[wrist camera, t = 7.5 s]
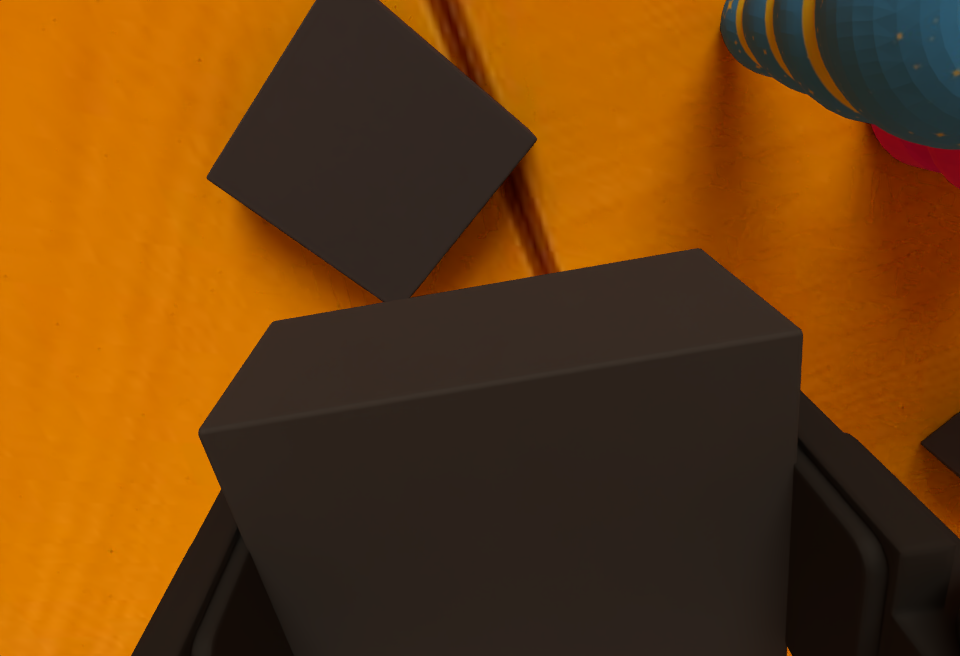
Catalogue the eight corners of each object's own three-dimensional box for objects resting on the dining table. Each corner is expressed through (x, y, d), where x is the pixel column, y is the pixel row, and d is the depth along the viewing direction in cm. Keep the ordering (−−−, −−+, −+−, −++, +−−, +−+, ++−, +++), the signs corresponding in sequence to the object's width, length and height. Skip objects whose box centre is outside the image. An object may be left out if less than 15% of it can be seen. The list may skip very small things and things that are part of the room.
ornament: (741, 125, 23) (1152, 233, 9) (624, 61, 22) (894, 76, 8) (829, -17, 21) (1499, -141, 8) (705, -95, 20) (1221, -400, 7)
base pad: (349, -25, 21) (336, -34, 18) (530, 130, 23) (538, 139, 21) (229, 166, 23) (204, 178, 21) (403, 289, 25) (398, 313, 23)
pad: (270, 320, 9) (194, 431, 7) (700, 246, 9) (805, 329, 6) (373, 622, 12) (349, 791, 9) (708, 571, 12) (784, 729, 9)
